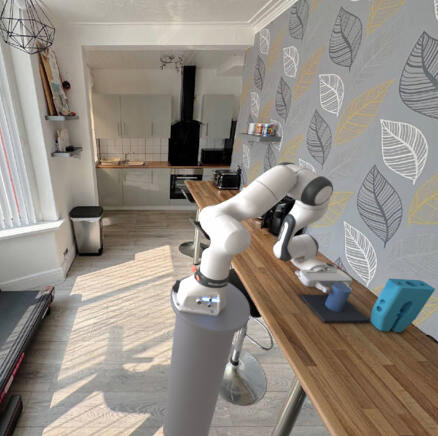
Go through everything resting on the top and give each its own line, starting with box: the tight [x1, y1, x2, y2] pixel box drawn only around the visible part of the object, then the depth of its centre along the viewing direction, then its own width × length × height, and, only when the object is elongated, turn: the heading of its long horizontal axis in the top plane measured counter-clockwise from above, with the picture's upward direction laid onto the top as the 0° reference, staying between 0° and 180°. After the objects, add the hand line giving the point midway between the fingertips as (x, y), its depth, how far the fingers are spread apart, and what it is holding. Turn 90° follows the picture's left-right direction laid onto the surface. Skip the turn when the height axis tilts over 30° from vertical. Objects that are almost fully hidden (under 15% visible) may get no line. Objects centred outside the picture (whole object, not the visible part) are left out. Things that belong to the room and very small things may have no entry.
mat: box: [300, 294, 370, 323], centre depth 96 cm, size 18×14×1 cm
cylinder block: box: [325, 283, 352, 312], centre depth 94 cm, size 6×6×10 cm
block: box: [369, 278, 436, 333], centre depth 85 cm, size 12×5×20 cm, turn 88°
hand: (338, 291), depth 94 cm, fingers open, 8 cm apart
